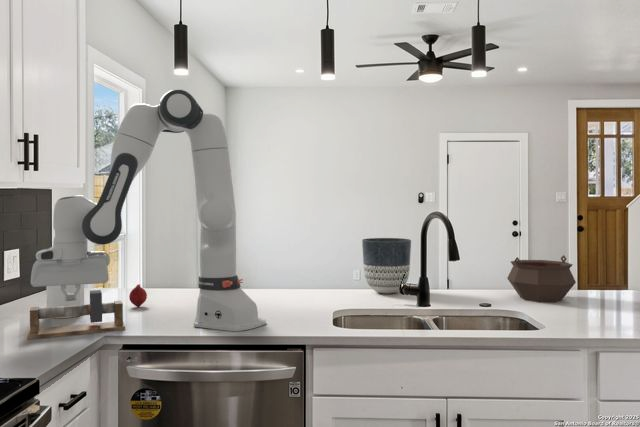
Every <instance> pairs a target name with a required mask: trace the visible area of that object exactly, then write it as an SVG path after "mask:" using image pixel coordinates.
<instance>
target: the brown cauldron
mask: <svg viewBox="0 0 640 427" xmlns="http://www.w3.org/2000/svg"><path fill="white" fill-rule="evenodd" d="M560 260H561V261H560ZM560 260H559V261H558V260H549V259H548V260H547V259H520V258H519V257H518V256H517V257H516V258H515V259H514V260H512V261H510V263H511V265H512V267H511V270H510V272H509V274H508V275H507V277H506V278H507V280H508V281H509V283H510V285H511V286H512V287H513V289H514V291H515V292H516V294H517V295H518V296H519V298H521V300H524V301H527V302H528V301H529V302H534V303H558V302H561V301H562V300H564V298H565V296H567V294H569V292H570V290H572V288H573V287H574V285H575V284H577V281H576V280H575V277H574V275H573V273H572V271H571V268H572V266H574V264H572V263H569V262H567V261H566V260H567V257H566V256H565V255H564V254H563V255H562V256H561V257H560Z"/></svg>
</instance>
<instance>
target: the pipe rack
mask: <svg viewBox="0 0 640 427" xmlns="http://www.w3.org/2000/svg"><path fill="white" fill-rule="evenodd" d="M123 306H124V304H123V301H122V300H114V301H113V302H105V303H104V302H102V315H104V314H113V315H114V318H113V320H114V321H108V322H107V321H106V322H94V323H91V322H90V323H85V324H74V325H62V326H53V327H52V326H51V327H50V326H49V327H40V320H43V319H54V318H58V317H70V316H77V317H81V316H90V315H91V306H90V303H89V304H84V305H74V306H61V307H48V308H47V307H39V306H31V307H30V308H29V330H28V333H27V340H33V339H34V340H35V339H43V338H54V337H64V336H65V337H66V336H74V335H75V336H78V335H86V334H96V333H97V334H98V333H107V332H108V333H109V332H118V331H125V330H126V325H125V322H124V317H123V316H124V314H123V313H124V311H123V310H124V309H123ZM58 319H59V318H58Z"/></svg>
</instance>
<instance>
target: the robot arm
mask: <svg viewBox="0 0 640 427" xmlns="http://www.w3.org/2000/svg"><path fill="white" fill-rule="evenodd" d="M225 131H226V130H225V128H224V125H223V121H222V120H221V118H220V117H219V116H217V115H216V114H212V113H204V110H203V108H201V105H199V103H198V102H197V100H196V99H195V97H193V95H192V94H191V93H190V92H188V91H186V90H184V89H179V88H177V89H171V90H169V91H167V92H166V93H164V94H163V95H162V97H161V98H160V102H159V104H157V105H155V106H154V105H150V104H147V103H134V104H133V105H131V106H130V107H129V109H128V110H127V112H126V114H125V115H124V117H123V118H122V121H121V123H120V124H119V128H118V129H117V131H116V135H115V137H114V141H113V144H112V148H111V155H110V169H109V173H108V177H107V179H106V181H105V184H104V187H103V190H102V192H101V195H100V197H99V199H98V201H97V202H94V201H92V200H91V199H88V198H87V197H86V196H85V195H82V194H75V195H71V196H70V195H69V196H65V197H64V196H63V197H61V198H59V199H58V200H56V202H55V204H54V209H53V221H52V222H53V223H52V224H53V225H52V226H53V230H54V238H53V243H52V244H53V246H51V247H47V248H44V249H41V250H39V251H37V252H36V253H35V259H36V260H35V262H34V263H33V265H32V268H31V273H30V285H31V286H32V287H33V288H35V287H36V288H37V287H46V286H60V285H61V290H62V292H63V293H64V295H65V301H75V300H76V294H77V293H78V292H79V290H80V284H84V285H93V284H94V285H97V284H106V283H108V282H109V280H110V278H109V269H108V266H109V265H110V262H111V260H110V259H111V258H110V257H111V256H110V255H109V254H108V253H106V252H105V251H103V250H102V251H100V250H99V251H88V241H90V242H91V243H93V244H96V245H100V246H101V245H108V244H111V243H113V242H115V240H117V239H118V238H119V237H120V235H121V233H122V229H123V228H122V227H123V222H122V211H123V206H124V203H125V201H126V198H127V195H128V193H129V190H130V188H131V186H132V183H133V182H134V179H135V178H136V177H137V176H138V174H140V173H141V171H142V170H143V169H144V167H145V166H146V164H147V163H148V161H149V159H150V157H151V155H152V153H153V151H154V149H155V148H154V147H155V146H156V143H157V140H158V138H159V135H160V134H161V133H172V134H181V133H184V132H185V133H186V134H187V136H188V138H189V140H190V142H189V143H190V148H191V150H190V151H191V156H192V157H191V158H192V166H193V173H194V181H195V182H194V183H195V196H196V206H197V207H196V208H197V217H198V221H199V222H200V228H199V229H200V231H199V234H200V236H199V239H200V240H199V275H198V280H197V283H198V284H197V285H198V288H199V293H198V297H197V303H196V304H197V305H196V314H195V320H194V323H193V327H194V328H202V329H203V328H205V329H210V330H211V329H212V330H221V331H230V332H240V331H247V330H252V329H256V328H258V327H261V326H264V325H265V324H267V321H266V319H264V318H260V317H259V313H258V312H259V311H258V306H257V303H256V301H254V300H253V299H252V298H251V297H250V296H249V295H248V294H247V293H246V292H245V291H244V290H243V289H242V288H241V284H242V283H244V279H243V278H239V276H238V274H237V224H236V223H237V221H236V220H237V217H236V216H237V212H236V203H235V195H234V187H233V186H234V185H233V177H232V169H231V162H230V161H231V160H230V154H229V152H230V151H229V145H228V140H227V139H228V138H227V135H226V132H225ZM66 285H75V288H77V289H76V291H75V292H74V294H67V292H66V290H65V289H66Z"/></svg>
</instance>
